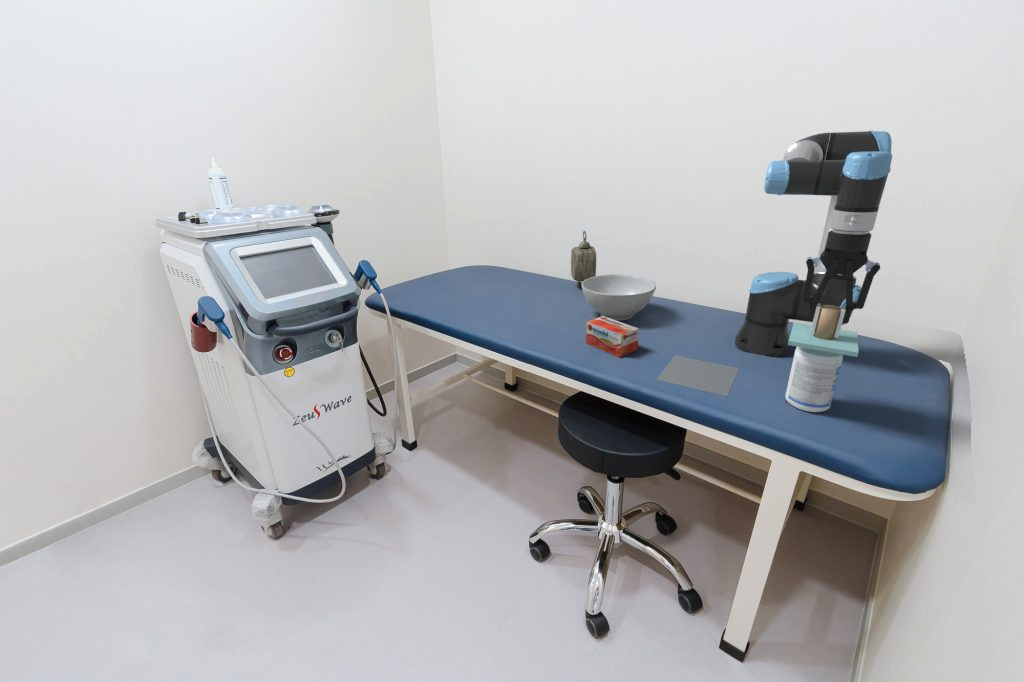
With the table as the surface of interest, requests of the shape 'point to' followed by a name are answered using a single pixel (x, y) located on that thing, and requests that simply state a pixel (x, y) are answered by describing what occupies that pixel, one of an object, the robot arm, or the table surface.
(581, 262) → the grey hanging weight
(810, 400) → the supplement tub
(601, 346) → the medicine box
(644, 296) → the decorative bowl
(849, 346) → the lid
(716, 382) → the mat
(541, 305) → the table surface
